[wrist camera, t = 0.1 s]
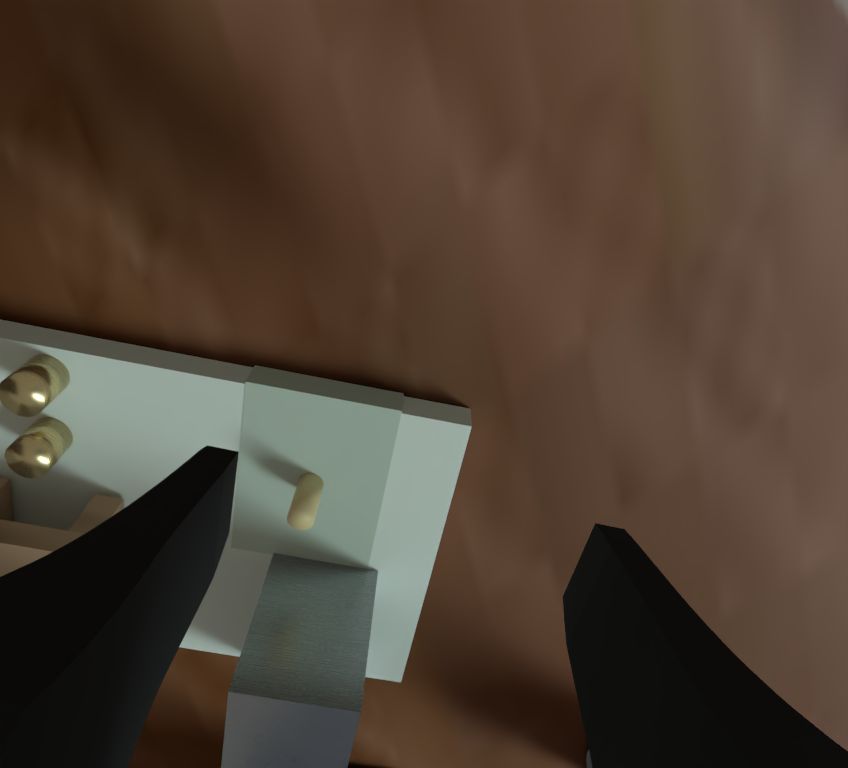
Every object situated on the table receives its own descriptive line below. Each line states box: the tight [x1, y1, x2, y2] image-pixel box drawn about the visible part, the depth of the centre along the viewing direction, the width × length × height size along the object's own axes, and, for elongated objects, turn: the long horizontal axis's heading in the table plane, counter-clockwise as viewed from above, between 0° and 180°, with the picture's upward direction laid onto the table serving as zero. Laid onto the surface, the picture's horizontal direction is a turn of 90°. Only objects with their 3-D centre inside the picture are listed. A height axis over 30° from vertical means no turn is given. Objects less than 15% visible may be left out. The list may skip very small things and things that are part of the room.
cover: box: [0, 477, 124, 577], centre depth 24 cm, size 5×5×3 cm
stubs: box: [0, 354, 73, 479], centre depth 22 cm, size 4×1×2 cm, turn 168°
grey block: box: [221, 553, 378, 768], centre depth 24 cm, size 6×4×6 cm, turn 169°
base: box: [0, 319, 472, 682], centre depth 25 cm, size 13×17×3 cm
